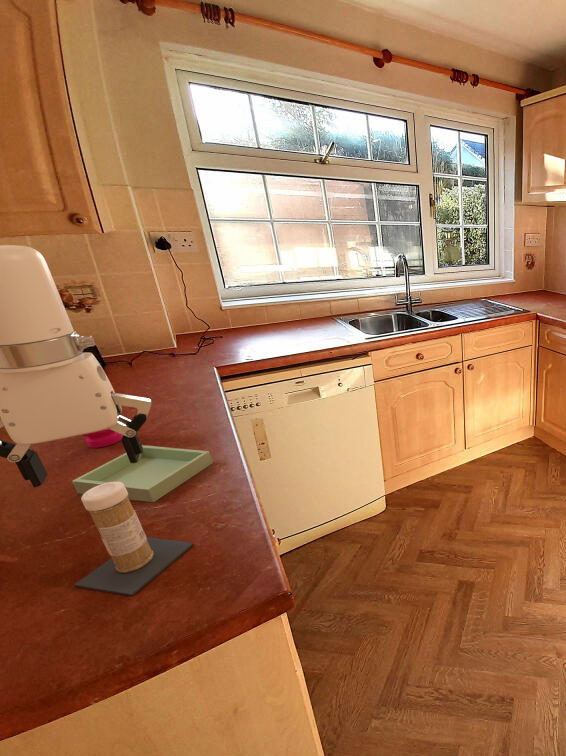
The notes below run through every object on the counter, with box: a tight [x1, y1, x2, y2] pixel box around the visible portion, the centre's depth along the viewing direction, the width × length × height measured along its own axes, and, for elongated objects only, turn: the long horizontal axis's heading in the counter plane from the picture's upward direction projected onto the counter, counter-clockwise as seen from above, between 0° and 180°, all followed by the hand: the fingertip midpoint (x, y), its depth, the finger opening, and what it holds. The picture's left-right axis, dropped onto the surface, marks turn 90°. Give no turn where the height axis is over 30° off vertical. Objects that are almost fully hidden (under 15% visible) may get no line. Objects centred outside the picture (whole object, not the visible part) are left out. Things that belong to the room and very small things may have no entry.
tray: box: [71, 444, 214, 503], centre depth 86 cm, size 18×14×3 cm
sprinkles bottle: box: [80, 482, 154, 573], centre depth 62 cm, size 5×5×13 cm
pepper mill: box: [82, 429, 123, 449], centre depth 97 cm, size 7×7×20 cm
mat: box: [74, 536, 195, 597], centre depth 65 cm, size 10×10×1 cm
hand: (90, 469), depth 58 cm, fingers open, 9 cm apart
